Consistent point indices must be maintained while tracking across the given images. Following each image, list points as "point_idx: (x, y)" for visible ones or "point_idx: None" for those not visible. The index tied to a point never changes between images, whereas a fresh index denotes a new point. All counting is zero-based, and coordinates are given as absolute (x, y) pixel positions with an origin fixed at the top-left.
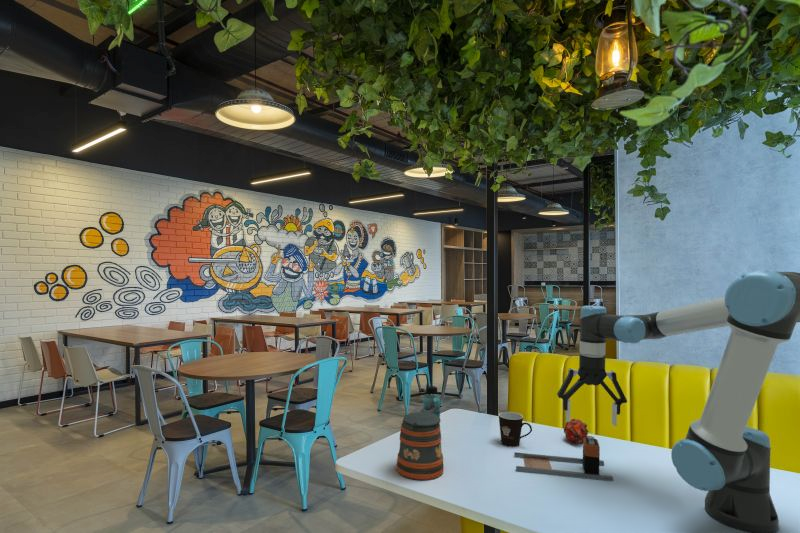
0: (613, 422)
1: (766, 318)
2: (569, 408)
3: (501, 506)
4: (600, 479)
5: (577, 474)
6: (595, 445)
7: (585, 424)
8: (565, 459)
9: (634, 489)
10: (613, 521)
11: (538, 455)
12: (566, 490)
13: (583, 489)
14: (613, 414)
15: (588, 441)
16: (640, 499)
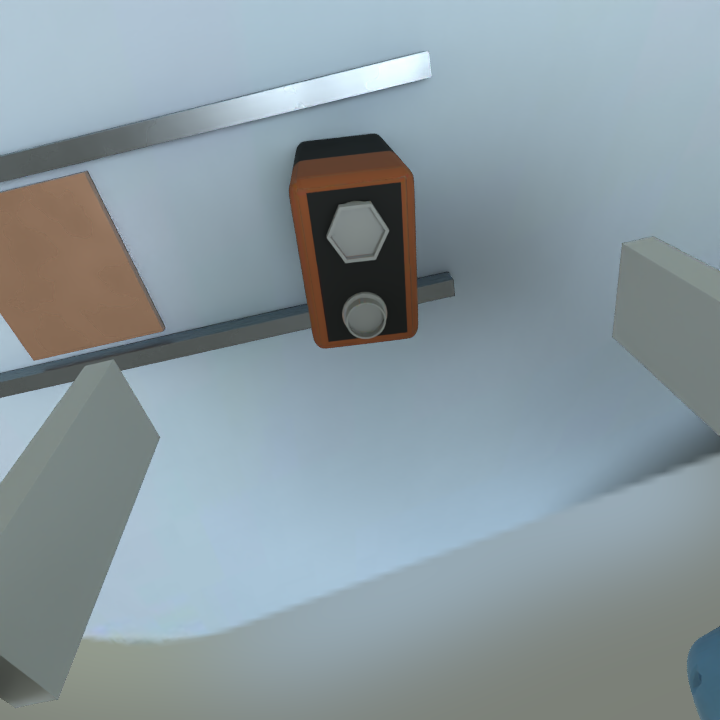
0: (631, 335)
1: None
2: (94, 578)
3: (109, 602)
4: None
5: (286, 331)
6: (390, 337)
7: None
8: (181, 136)
9: (529, 328)
10: (413, 546)
11: (1, 178)
12: (262, 450)
13: (322, 417)
14: (699, 385)
15: (339, 278)
16: (528, 400)
